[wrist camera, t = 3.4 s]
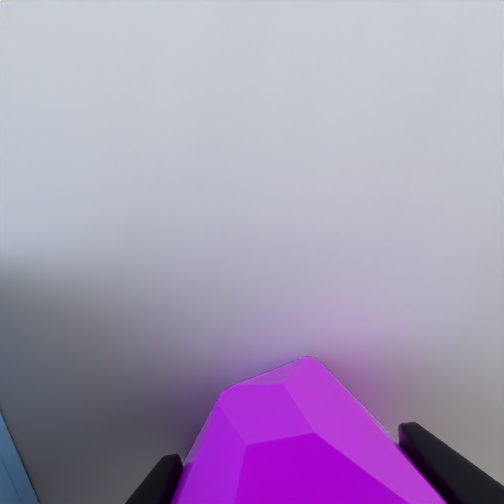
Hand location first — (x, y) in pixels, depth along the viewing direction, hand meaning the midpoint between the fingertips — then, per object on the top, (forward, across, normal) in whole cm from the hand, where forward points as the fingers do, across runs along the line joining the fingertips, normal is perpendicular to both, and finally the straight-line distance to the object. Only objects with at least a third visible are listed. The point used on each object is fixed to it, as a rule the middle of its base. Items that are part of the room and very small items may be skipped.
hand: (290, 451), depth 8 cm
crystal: (+1, 0, 0) cm, 1 cm away
